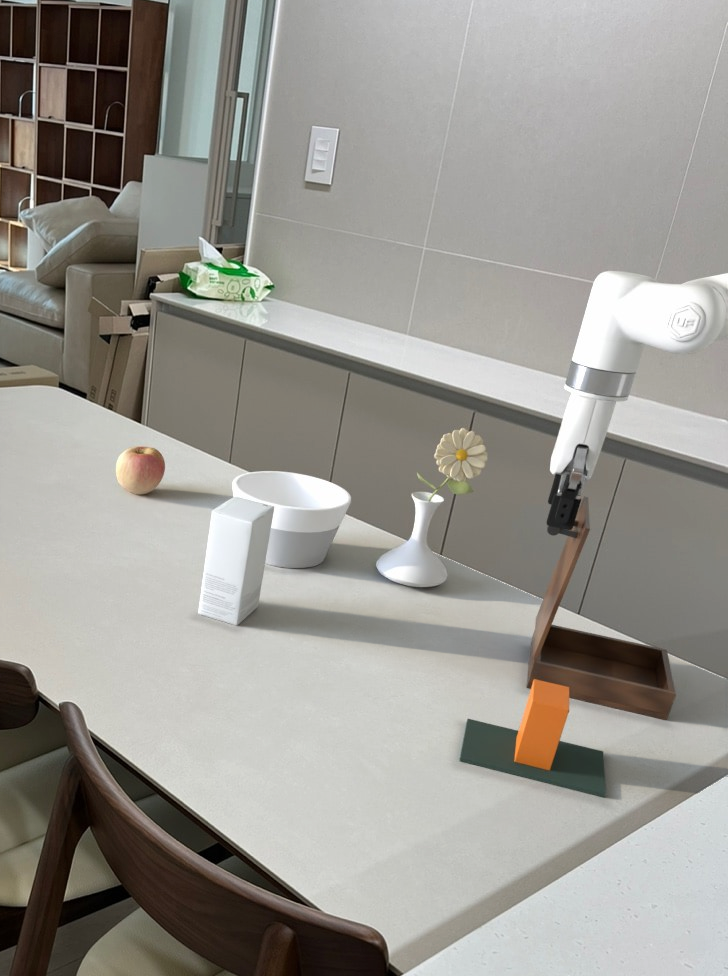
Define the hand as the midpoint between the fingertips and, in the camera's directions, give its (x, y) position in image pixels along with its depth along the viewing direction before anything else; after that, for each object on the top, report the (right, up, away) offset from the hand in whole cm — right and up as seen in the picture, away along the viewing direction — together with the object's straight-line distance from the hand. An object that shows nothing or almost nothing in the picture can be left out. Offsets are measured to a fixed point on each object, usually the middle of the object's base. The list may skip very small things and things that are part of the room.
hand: (559, 516), depth 136 cm
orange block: (-8, -30, -13) cm, 33 cm away
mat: (-8, -30, -13) cm, 34 cm away
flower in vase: (-12, -5, +33) cm, 36 cm away
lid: (+2, -8, +3) cm, 8 cm away
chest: (+7, -21, +8) cm, 24 cm away
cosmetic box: (-42, -11, +15) cm, 46 cm away
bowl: (-32, 0, +38) cm, 50 cm away
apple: (-57, +14, +58) cm, 83 cm away
